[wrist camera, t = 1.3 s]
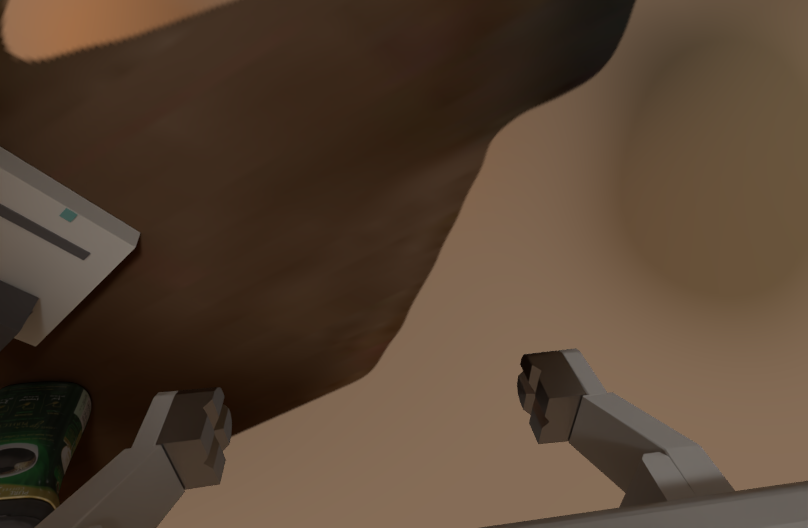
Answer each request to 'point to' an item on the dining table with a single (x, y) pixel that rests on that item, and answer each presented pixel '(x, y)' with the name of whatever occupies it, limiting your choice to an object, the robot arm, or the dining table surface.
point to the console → (53, 244)
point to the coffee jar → (37, 447)
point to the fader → (13, 311)
